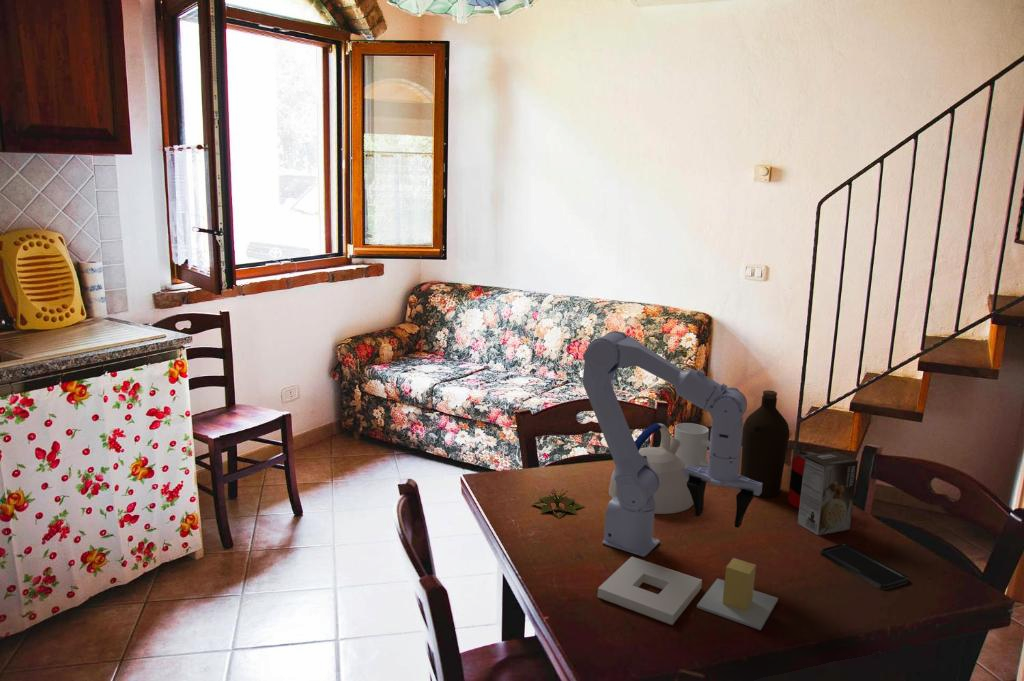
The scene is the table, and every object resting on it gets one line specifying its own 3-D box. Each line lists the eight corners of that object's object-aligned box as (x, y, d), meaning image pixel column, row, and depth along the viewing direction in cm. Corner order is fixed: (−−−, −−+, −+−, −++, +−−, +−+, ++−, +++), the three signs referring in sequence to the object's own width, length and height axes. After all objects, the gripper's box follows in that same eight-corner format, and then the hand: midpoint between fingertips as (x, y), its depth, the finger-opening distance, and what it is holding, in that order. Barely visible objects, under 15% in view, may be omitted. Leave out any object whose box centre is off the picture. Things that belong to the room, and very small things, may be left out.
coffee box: (828, 517, 162) (836, 450, 159) (850, 530, 156) (860, 460, 153) (796, 523, 159) (804, 455, 155) (817, 536, 153) (826, 465, 150)
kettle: (710, 496, 172) (717, 424, 168) (667, 523, 157) (673, 445, 153) (638, 472, 185) (642, 405, 182) (591, 496, 170) (595, 423, 166)
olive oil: (785, 501, 170) (796, 400, 165) (738, 495, 173) (748, 395, 167) (779, 483, 180) (790, 388, 175) (735, 479, 183) (745, 384, 178)
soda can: (800, 495, 174) (806, 448, 172) (829, 506, 168) (835, 458, 165) (780, 501, 170) (786, 453, 168) (808, 513, 164) (815, 464, 161)
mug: (701, 479, 182) (704, 439, 179) (665, 464, 191) (668, 426, 189) (722, 472, 186) (726, 433, 184) (686, 458, 196) (689, 421, 194)
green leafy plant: (555, 493, 172) (556, 475, 171) (594, 509, 164) (595, 491, 163) (520, 507, 164) (521, 488, 163) (559, 525, 155) (560, 506, 155)
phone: (845, 543, 149) (911, 578, 136) (844, 548, 149) (910, 583, 136) (817, 550, 145) (882, 586, 132) (817, 555, 146) (882, 592, 132)
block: (722, 603, 126) (726, 566, 124) (729, 593, 129) (733, 557, 128) (745, 611, 124) (749, 574, 122) (752, 600, 127) (756, 564, 125)
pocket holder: (597, 597, 127) (598, 587, 127) (631, 564, 139) (631, 556, 138) (672, 625, 120) (673, 615, 119) (701, 588, 131) (702, 579, 131)
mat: (696, 607, 125) (696, 605, 125) (717, 580, 134) (717, 578, 134) (760, 630, 119) (760, 627, 119) (777, 600, 128) (778, 598, 128)
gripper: (680, 450, 136) (674, 517, 139) (757, 468, 128) (750, 538, 131) (693, 440, 142) (687, 504, 144) (768, 457, 134) (760, 524, 136)
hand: (718, 520), depth 138 cm, fingers open, 7 cm apart
